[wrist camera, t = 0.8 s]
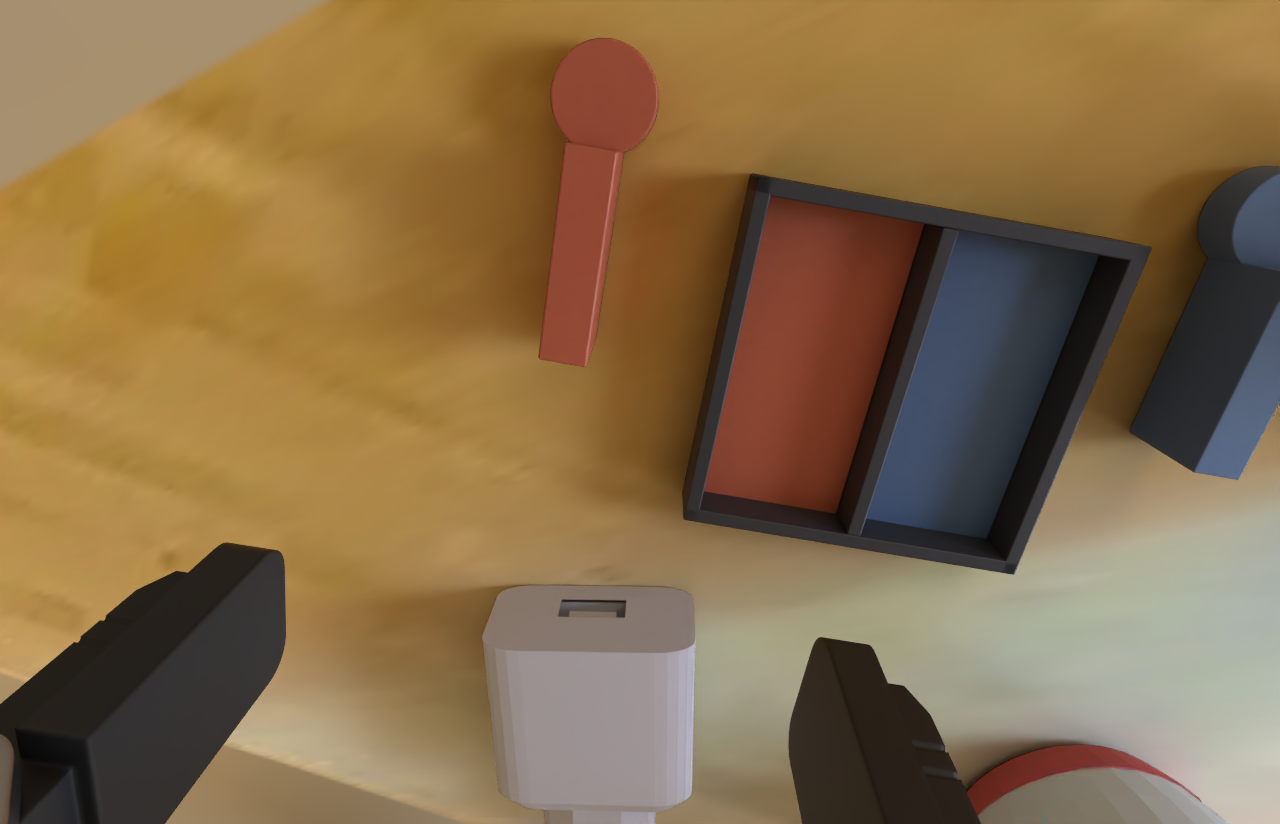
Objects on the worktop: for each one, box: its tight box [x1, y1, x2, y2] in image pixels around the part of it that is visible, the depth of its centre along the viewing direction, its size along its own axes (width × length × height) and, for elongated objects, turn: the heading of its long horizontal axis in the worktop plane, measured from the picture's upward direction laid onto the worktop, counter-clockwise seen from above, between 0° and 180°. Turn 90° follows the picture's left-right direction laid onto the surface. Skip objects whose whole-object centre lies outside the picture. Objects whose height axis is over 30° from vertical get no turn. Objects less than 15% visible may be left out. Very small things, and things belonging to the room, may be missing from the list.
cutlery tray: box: [682, 173, 1152, 575], centre depth 29 cm, size 14×14×2 cm
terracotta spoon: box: [538, 38, 658, 367], centre depth 26 cm, size 4×11×4 cm, turn 170°
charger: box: [482, 585, 695, 824], centre depth 35 cm, size 5×9×15 cm
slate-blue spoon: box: [1130, 166, 1280, 480], centre depth 27 cm, size 4×11×4 cm, turn 170°
